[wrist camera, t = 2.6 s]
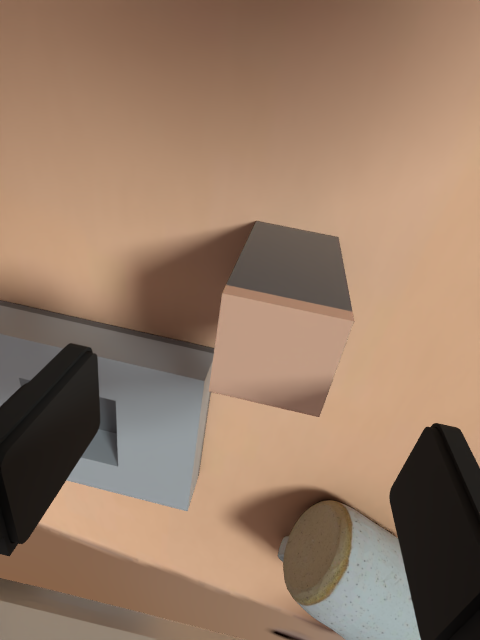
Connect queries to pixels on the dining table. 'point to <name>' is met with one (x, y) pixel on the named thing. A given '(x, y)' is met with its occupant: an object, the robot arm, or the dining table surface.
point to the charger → (283, 320)
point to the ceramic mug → (348, 574)
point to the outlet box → (122, 400)
